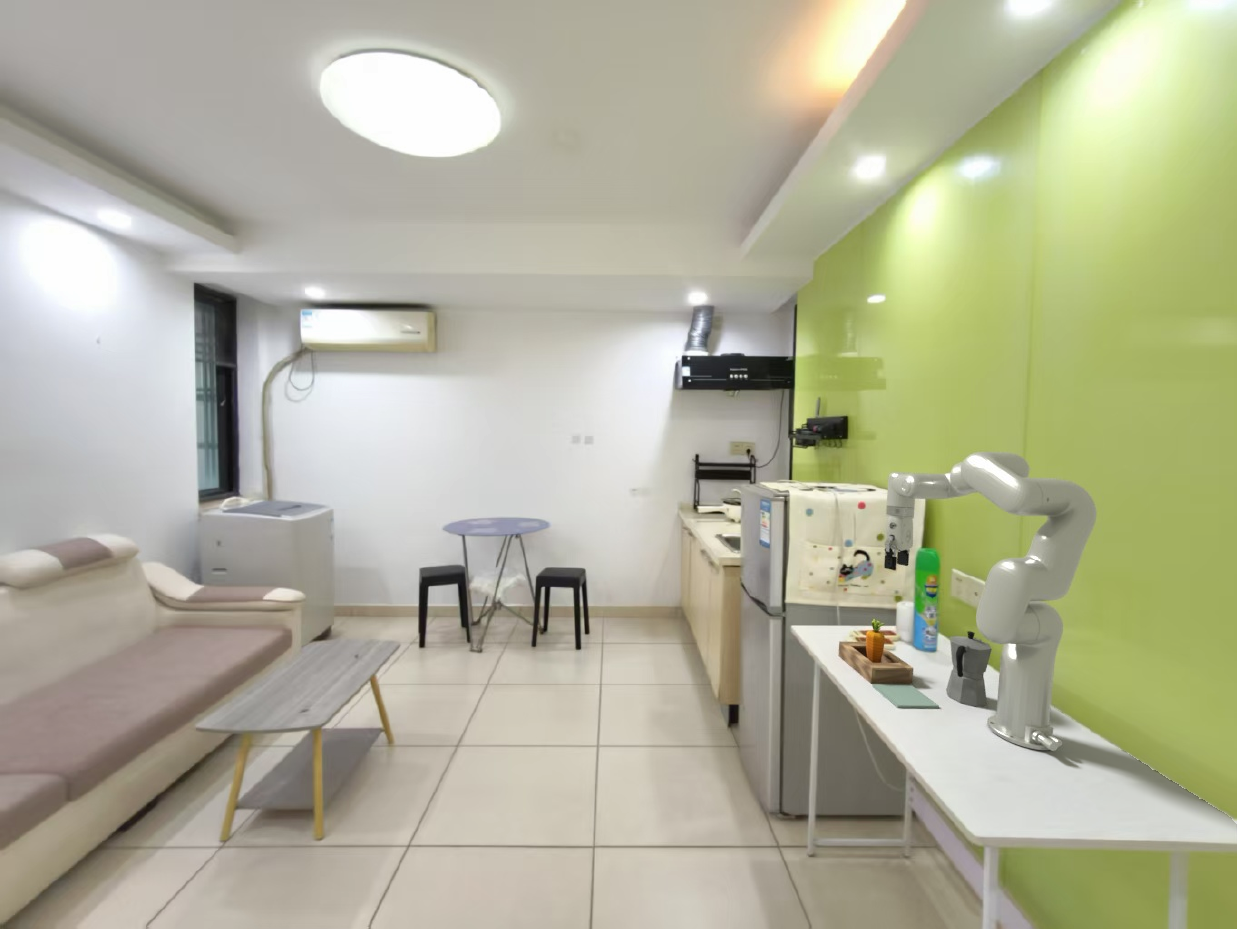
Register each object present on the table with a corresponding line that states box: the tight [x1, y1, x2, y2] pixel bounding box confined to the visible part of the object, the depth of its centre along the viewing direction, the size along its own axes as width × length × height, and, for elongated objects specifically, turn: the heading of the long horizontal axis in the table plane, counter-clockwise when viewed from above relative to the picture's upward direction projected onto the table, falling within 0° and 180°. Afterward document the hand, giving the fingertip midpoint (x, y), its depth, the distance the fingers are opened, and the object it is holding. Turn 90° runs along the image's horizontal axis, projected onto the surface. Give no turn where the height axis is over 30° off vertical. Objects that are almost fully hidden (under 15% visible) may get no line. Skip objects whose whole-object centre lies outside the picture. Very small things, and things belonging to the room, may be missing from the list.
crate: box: [837, 641, 914, 685], centre depth 148 cm, size 18×12×5 cm, turn 4°
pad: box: [871, 684, 940, 709], centre depth 132 cm, size 11×11×1 cm
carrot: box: [865, 618, 886, 663], centre depth 148 cm, size 5×5×15 cm
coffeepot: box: [945, 630, 992, 708], centre depth 132 cm, size 15×9×18 cm, turn 129°
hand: (896, 567), depth 155 cm, fingers open, 9 cm apart
